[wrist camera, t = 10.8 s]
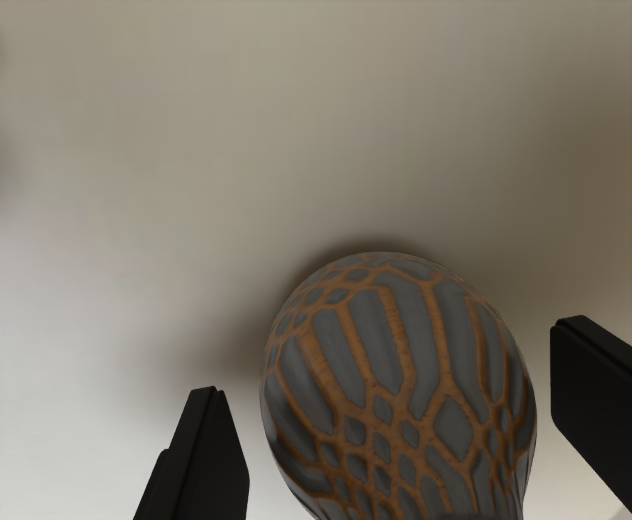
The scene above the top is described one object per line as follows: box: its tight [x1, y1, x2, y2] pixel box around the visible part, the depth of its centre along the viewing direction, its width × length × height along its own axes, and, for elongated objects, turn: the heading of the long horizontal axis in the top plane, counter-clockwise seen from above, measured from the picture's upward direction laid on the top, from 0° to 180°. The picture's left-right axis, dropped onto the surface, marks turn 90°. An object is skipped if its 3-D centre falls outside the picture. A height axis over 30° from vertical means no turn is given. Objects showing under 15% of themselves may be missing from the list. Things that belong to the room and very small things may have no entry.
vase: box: [259, 252, 537, 520], centre depth 11 cm, size 7×7×9 cm
